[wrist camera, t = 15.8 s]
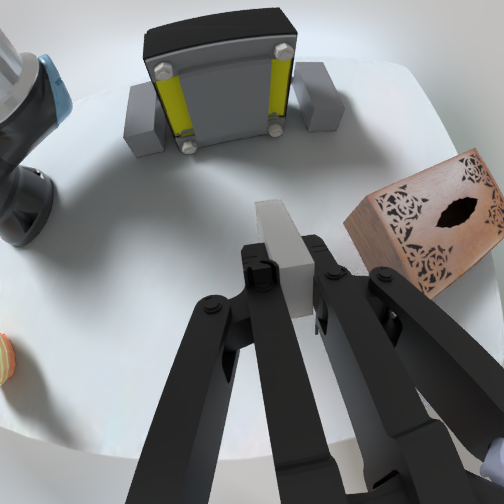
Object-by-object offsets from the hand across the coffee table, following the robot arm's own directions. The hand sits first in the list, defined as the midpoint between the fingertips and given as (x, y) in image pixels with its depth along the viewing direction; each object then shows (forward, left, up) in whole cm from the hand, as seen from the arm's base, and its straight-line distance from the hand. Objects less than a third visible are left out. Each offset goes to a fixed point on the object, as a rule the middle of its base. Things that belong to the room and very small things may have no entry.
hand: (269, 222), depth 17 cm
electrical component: (-1, +26, -23) cm, 35 cm away
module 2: (+14, +29, -23) cm, 39 cm away
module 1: (-15, +29, -23) cm, 39 cm away
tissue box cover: (+28, +3, -23) cm, 36 cm away
